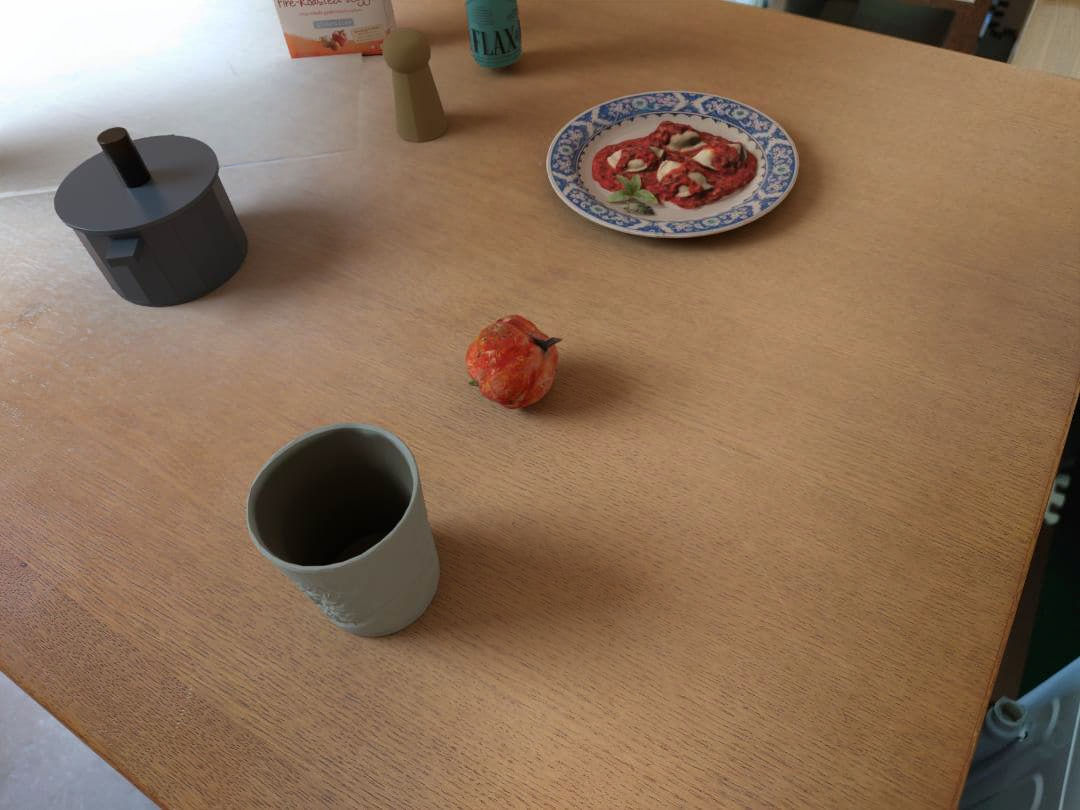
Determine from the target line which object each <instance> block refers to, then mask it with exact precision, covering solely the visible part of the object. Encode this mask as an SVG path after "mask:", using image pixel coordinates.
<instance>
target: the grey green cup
mask: <svg viewBox="0 0 1080 810" xmlns="http://www.w3.org/2000/svg"><path fill="white" fill-rule="evenodd" d="M428 517H429V515H428V509H427V507H426V501H425V497H424V492H423V487H422V482H421V476H420V471H419V467H418V463H417V460H416V457H415V456H414V453H413V452H412V450H411V448H410V447H409V446H408V445H407V444H406V443H405V442H404V441H403V440H402V439H401V438H400V437H399V436H398V435H396V434H395V433H393V432H391V431H389V430H387V429H385V428H383V427H381V426H377V425H375V424H371V423H365V422H353V421H352V422H338V423H337V422H336V423H332V424H331V423H330V424H326V425H323V426H320V427H317V428H314V429H311V430H308V431H306V432H305V433H302V434H301V435H299V436H297V437H295V438H294V439H293V440H291V441H290V442H288V443H287V444H285V445H284V446H282V447H281V448H280V449H279V450H277V451H276V452H275V453H274V454H273V455H272V456H271V457H270V458H268V460H267V461H265V463H264V464H263V466H262V468H260V470H259V471H258V473H257V474H256V476H255V478H254V480H253V482H252V483H251V486H250V489H249V491H248V495H247V498H246V504H245V519H246V527H247V531H248V533H249V536H250V538H251V541H252V542H253V544H254V546H255V547H256V549H257V550H258V551H259V552H260V554H262V556H263V557H265V558H266V559H267V561H269V562H270V563H271V564H273V566H275V567H276V568H277V569H278V570H279V571H280V572H281V573H282V574H283V575H284V576H285V577H287V579H289V580H291V581H292V583H293V585H295V586H296V588H298V590H300V591H301V592H302V593H303V594H304V595H305V596H306V597H307V598H308V599H309V600H310V602H312V603H313V604H315V605H316V607H317V608H318V609H319V611H321V612H322V613H323V614H324V615H325V616H326V618H328V620H330V621H331V622H332V623H333V624H334V625H335V626H336V627H338V628H339V629H341V630H342V631H344V632H346V633H349V634H351V635H355V636H359V637H365V638H376V637H383V636H385V637H386V636H387V635H391V634H394V633H397V632H399V631H402V630H403V629H406V627H409V626H410V625H411V624H413V623H414V622H415V621H417V619H419V618H420V617H421V616H422V615H424V613H425V612H426V610H427V609H428V607H429V606H430V605H431V603H432V602H431V601H433V599H434V596H436V595H437V592H438V586H439V582H440V577H441V570H440V564H441V563H440V561H439V560H440V559H439V555H438V552H437V548H436V544H435V539H434V535H433V533H432V531H431V525H430V521H429V518H428ZM436 591H437V592H436Z"/></svg>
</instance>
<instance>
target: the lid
mask: <svg viewBox="0 0 1080 810" xmlns="http://www.w3.org/2000/svg"><path fill="white" fill-rule="evenodd" d="M96 141H97V143H98V145H99V146H100V148H101V149H102V151H100V152H98V153H96V154H94V155H92V156H91V157H89V158H88V159H85V160H84V161H83V162H82V163H80V164H78V165H77V166H76V167H75V168H74V169H72V170H71V171H70V172H69V173H68V174H67V175H66V177H64V179H63V180H62V181H61V183H60V184H59V186H58V188H57V189H56V192H55V194H54V197H53V209H54V210H55V213H56V215H57V217H58V218H59V219H60V220H61V222H62V223H63V224H64V225H66V227H68V228H70V229H72V230H73V229H74V230H76V231H79V232H82V233H87V234H94V235H117V234H125V233H131V232H135V231H140V230H144V229H147V228H150V227H153V226H156V225H159V224H161V223H164V222H166V221H168V220H170V219H172V218H174V217H176V216H178V215H180V214H182V213H183V212H185V211H187V210H188V209H190V208H191V207H193V206H194V205H195V204H196V203H198V202H199V201H200V200H201V199H202V198H203V197H204V196H205V195H206V194H207V193H208V192H209V191H210V189H211V188H212V187H213V185H214V183H215V182H216V180H217V177H218V176H219V172H220V162H219V160H218V156H217V154H216V152H215V151H214V149H213V148H212V147H210V145H208V144H207V143H206V142H204V141H201V140H199V139H197V138H194V137H191V136H186V135H178V134H177V135H176V134H174V135H172V134H163V135H152V136H151V135H150V136H146V137H140V138H136V139H133V138H132V137H131V135H130V133H129V132H128V130H127V129H126V128H125V127H122V126H114V127H110V128H107V129H105V130H103V131H102V132H100V133H99V134H97V137H96Z"/></svg>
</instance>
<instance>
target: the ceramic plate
mask: <svg viewBox="0 0 1080 810" xmlns="http://www.w3.org/2000/svg"><path fill="white" fill-rule="evenodd" d="M799 158H800V157H799V152H798V150H797V147H796V144H795V142H794V140H793V139H792V137H791V136H790V134H789V133H788V132H787V130H785V129H784V127H783V126H782V125H781V124H780V123H778V122H777V121H776V120H775V119H773V118H772V117H770V116H769V115H767V114H765V112H763V111H761V110H759V109H757V108H755V107H753V106H751V105H748V104H746V103H743V102H741V101H739V100H736V99H734V98H733V99H732V98H729V97H725V96H721V95H717V94H714V93H706V92H698V91H691V90H657V91H645V92H639V93H634V94H628V95H624V96H620V97H617V98H614V99H610V100H607V101H604V102H602V103H599V104H597V105H594V106H593V107H590V108H588V109H586V110H584V111H582V112H581V113H579V114H578V115H576V116H575V117H574V118H572V119H571V120H569V122H568V121H567V123H566V124H565V125H564V126H563V127H562V128H561V129H560V130H559V131H558V132H557V134H555V136H554V137H553V139H552V141H551V143H550V145H549V148H548V151H547V155H546V159H545V160H546V163H545V164H546V172H547V176H548V180H549V182H550V185H551V186H552V189H553V191H554V192H555V193H556V194H557V196H558V197H559V198H560V200H562V201H563V203H564V204H565V205H567V206H568V207H569V208H570V209H571V210H572V211H574V212H576V213H577V214H579V215H580V216H582V217H584V218H586V219H587V220H589V221H591V222H593V223H596V224H598V225H600V226H602V227H605V228H608V229H610V230H615V231H618V232H621V233H626V234H631V235H634V236H635V235H636V236H642V237H649V238H663V239H664V238H666V239H684V238H685V239H686V238H695V237H704V236H709V235H716V234H721V233H724V232H727V231H731V230H734V229H737V228H740V227H743V226H745V225H747V224H750V223H752V222H754V221H757V220H758V219H760V218H761V217H765V215H767V214H768V213H770V212H772V211H773V210H774V209H775V208H777V206H779V205H780V204H781V203H782V202H783V201H784V200H785V199H786V198H787V196H788V195H789V194H790V192H791V191H792V189H793V187H794V185H795V183H796V181H797V178H798V176H799V169H800V159H799Z"/></svg>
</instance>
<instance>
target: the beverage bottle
mask: <svg viewBox="0 0 1080 810" xmlns="http://www.w3.org/2000/svg"><path fill="white" fill-rule="evenodd" d="M464 6H465V13H466V20H467V28H468V31H467V33H468V41H469V43H470V44H469V47H470V51H471V54H470V55H471V56H472V58H473V60H474V62H475V63H476V64H477V65H479V66H480V67H483V68H490V69H497V68H503V67H508V66H510V65H512V64H514V63H516V62H517V61H518V60H519V59H520V57H521V55H522V51H523V49H522V46H523V40H522V39H523V38H522V28H521V21H520V20H521V16H520V15H519V14H520V11H519V10H520V9H519V8H520V6H519V5H518V0H465V3H464Z"/></svg>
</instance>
